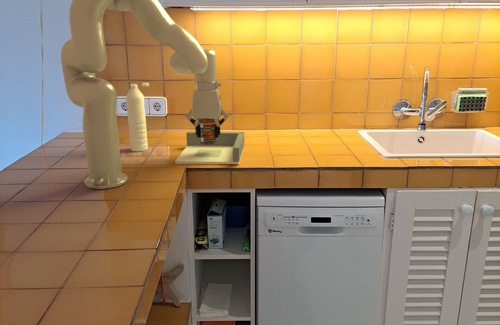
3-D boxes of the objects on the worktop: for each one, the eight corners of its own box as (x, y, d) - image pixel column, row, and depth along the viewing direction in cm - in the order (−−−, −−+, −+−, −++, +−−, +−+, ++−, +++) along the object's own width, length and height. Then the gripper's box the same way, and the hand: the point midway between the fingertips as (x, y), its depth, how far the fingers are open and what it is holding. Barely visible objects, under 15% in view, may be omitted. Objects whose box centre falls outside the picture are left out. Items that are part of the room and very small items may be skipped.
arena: (239, 164, 153) (238, 147, 151) (175, 163, 155) (174, 147, 153) (244, 147, 174) (244, 132, 172) (188, 146, 176) (187, 131, 174)
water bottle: (132, 152, 169) (125, 85, 161) (129, 148, 174) (123, 83, 167) (155, 149, 172) (150, 84, 164) (152, 145, 178) (147, 81, 170)
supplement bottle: (202, 146, 159) (201, 114, 155) (198, 142, 164) (196, 111, 160) (218, 144, 161) (217, 113, 157) (214, 140, 166) (212, 110, 162)
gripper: (231, 84, 159) (233, 134, 164) (183, 84, 160) (186, 134, 166) (229, 87, 152) (230, 139, 157) (179, 88, 153) (182, 139, 159)
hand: (208, 136), depth 161 cm, fingers closed on supplement bottle, 6 cm apart
